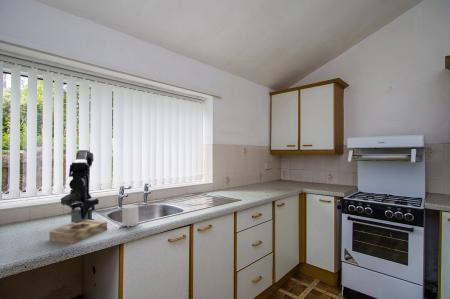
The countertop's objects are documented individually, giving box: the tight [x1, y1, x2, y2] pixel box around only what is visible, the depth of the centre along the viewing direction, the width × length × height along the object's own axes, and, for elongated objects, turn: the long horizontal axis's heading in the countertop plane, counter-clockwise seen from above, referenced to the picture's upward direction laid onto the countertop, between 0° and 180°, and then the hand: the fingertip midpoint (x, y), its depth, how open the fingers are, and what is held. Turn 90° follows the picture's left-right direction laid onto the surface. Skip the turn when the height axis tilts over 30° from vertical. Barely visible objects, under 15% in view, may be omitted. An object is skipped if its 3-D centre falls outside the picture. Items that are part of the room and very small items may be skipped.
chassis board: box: [49, 219, 108, 245], centre depth 118 cm, size 20×14×4 cm
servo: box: [67, 208, 91, 224], centre depth 118 cm, size 10×4×7 cm, turn 162°
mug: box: [121, 204, 139, 228], centre depth 134 cm, size 12×8×10 cm
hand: (79, 218), depth 118 cm, fingers closed on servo, 4 cm apart
